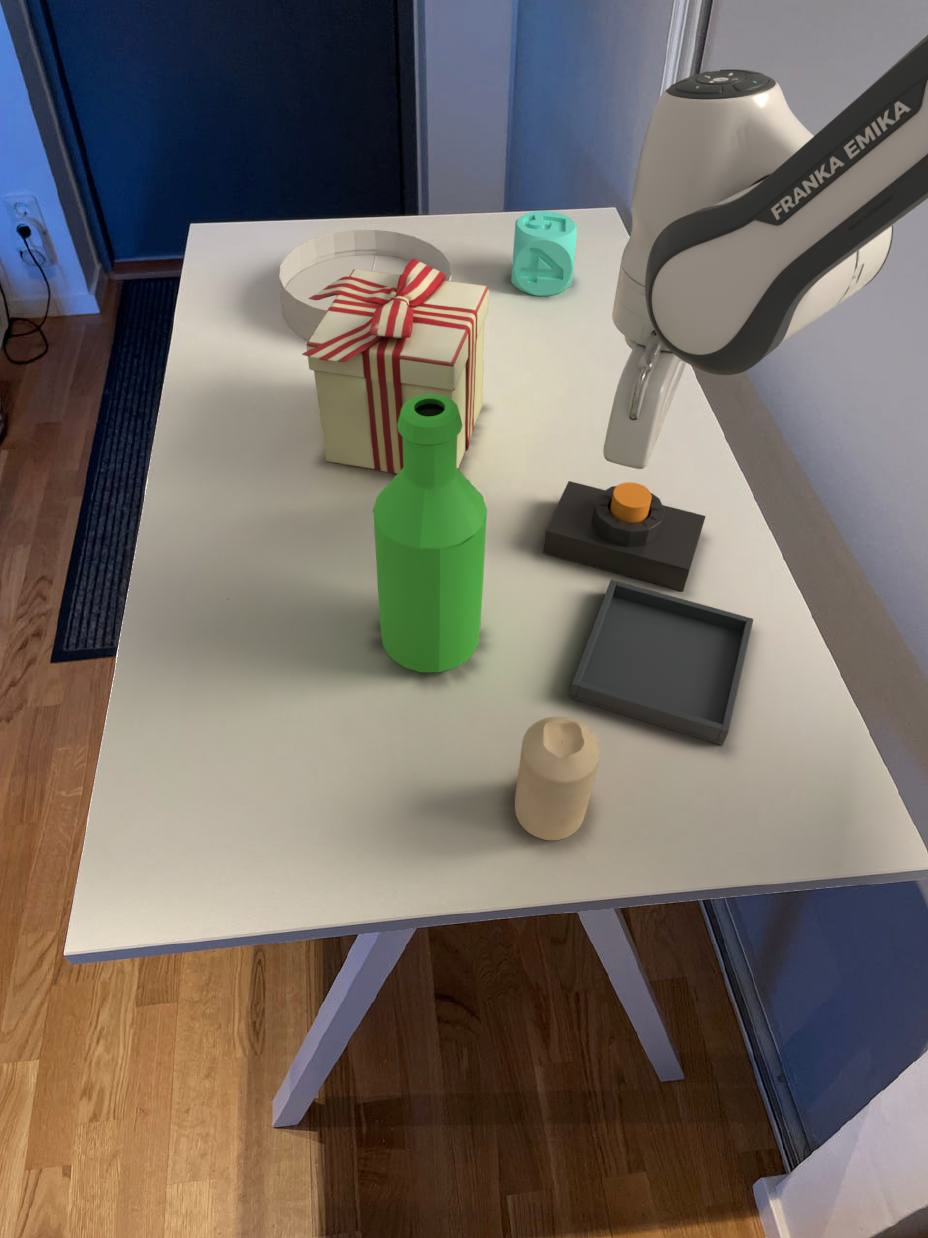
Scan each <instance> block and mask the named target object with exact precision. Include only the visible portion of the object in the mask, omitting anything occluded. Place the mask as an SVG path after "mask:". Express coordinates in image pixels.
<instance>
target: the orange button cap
mask: <svg viewBox="0 0 928 1238" xmlns="http://www.w3.org/2000/svg"><path fill="white" fill-rule="evenodd" d="M616 486H617V487H616V488H615V489H614V491H613V496H612V502H611V507H610V511H611V513H612V515H613V516H614V517H615V518H617V519H618V520H621V521H624V522H628V523H634V522H641V521H643V520H645V519H646V517H647V516H648V512H649V507H650V503H651V499H652V495H651V493H652V492H651V491H650V490H649V489H648V487H646V486H645V485H642V484H640V483H638V482H632V481H631V482H630V481H629V482H627V481H626V482H622V483H620V484H618V485H616ZM650 492H651V493H650Z"/></svg>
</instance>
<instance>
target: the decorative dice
mask: <svg viewBox="0 0 928 1238" xmlns="http://www.w3.org/2000/svg"><path fill="white" fill-rule="evenodd" d="M514 223H515V224H514V225H515V226H514V238H513V239H514V240H513V249H512V250H513V251H512V263H511V265H512V266H511V281H510V282H511V283H512V284H513V286H515V288H517V289H518V290H519V291H520V292H523V293H525V294H526V295H527V294H528V295H531V296H538V297H551V296H555V295H559V294H561V293H563V292H565V291H566V290H568V289H569V287H571V286H572V282H573V278H574V277H573V276H574V270H575V263H576V262H575V261H576V252H577V251H576V250H577V237H578V233H577V232H578V227H577V226H578V225H577V223H576V222H575V221H574V220H573V218H571V217H570V216H568V215H565V214H563V213H560V212H556V211H552V210H551V211H550V210H535V211H530V212H527V213H524V214H522V215H521V216H520V217H518V218H517V219H516V220H515V222H514Z"/></svg>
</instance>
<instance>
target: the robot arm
mask: <svg viewBox="0 0 928 1238" xmlns="http://www.w3.org/2000/svg"><path fill="white" fill-rule="evenodd" d="M633 184H634V185H633V189H632V195H631V202H630V210H631V217H632V224H631V225H632V226H631V231H630V232H631V233H630V236H629V238H628V241H627V242H626V245H625V246H624V249H623V251H622V256H621V258H620V259H621V261H620V265H619V272H618V277H617V282H616V289H615V295H614V296H615V297H614V301H613V306H612V314H611V316H612V317H611V318H612V322H613V324H614V326H615V327H616V330H618V331H619V332H620V333H621V335H623V336H624V342H625V343H626V345H627V346H628V347H629V348H630V349H631V352H630V353H629V357H628V359H627V361H626V363H625V365H624V367H623V369H622V372H621V375H620V377H619V380H618V383H617V386H616V389H615V393H614V397H613V402H612V407H611V410H610V415H609V420H608V424H607V429H606V432H605V433H606V434H605V437H604V438H605V439H604V443H603V450H602V451H603V458H604V459H605V461H607V462H609V463H612V464H615V465H619V466H623V467H627V468H632V469H636V470H643V469H645V468H646V467H647V465H648V464H649V462H650V459H651V457H652V455H653V452H654V449H655V446H656V444H657V441H658V438H659V436H660V434H661V432H662V431H661V430H662V428H663V425H664V423H665V420H666V417H667V414H668V412H669V409H670V407H671V404H672V401H673V400H674V396H675V394H676V391H677V388H678V385H679V384H680V380H681V378H682V375H683V372H684V370H685V368H686V365H687V364H688V365H690V366H691V367H693V368H695V369H698V370H700V371H703V372H705V373H708V374H711V375H717V376H734V375H738V374H741V373H744V372H746V371H748V370H750V369H752V368H753V367H754V366H756V365H757V364H759V363H760V362H761V361H762V360H763V359H764V358H766V357H767V356H769V355H770V354H771V353H772V352H773V351H775V350H776V349H777V348H778V347H779V346H780V345H781V344H782V343H784V342H785V341H787V340H788V339H790V338H791V337H792V336H794V335H796V334H797V333H799V332H800V331H802V330H803V329H805V328H806V327H807V326H809V325H811V324H812V323H813V322H815V321H817V320H818V319H819V318H822V316H825V314H827V313H828V312H830V311H831V310H833V309H835V307H837V306H839V305H840V304H842V303H843V302H845V301H846V300H849V298H851V297H852V296H853V295H855V294H856V293H857V292H859V291H860V290H861V289H864V287H865V286H867V285H868V284H870V283H871V282H872V281H873V280H874V279H875V278H876V276H877V275H878V274H879V273H880V271H881V270H882V269H883V267H884V265H885V263H886V261H887V259H888V256H889V254H890V250H891V247H892V243H893V237H894V225H896V224H897V223H898V222H900V221H901V220H902V219H904V218H905V217H906V216H908V215H909V214H910V213H912V212H913V211H914V210H916V209H917V208H918V207H920V206H922V204H924V203H925V202H927V201H928V31H927V32H926V33H924V35H923V36H922V37H921V38H920V39H919V40H918V41H917V43H916V44H914V45H913V46H912V47H911V49H910V50H909V51H907V53H905V54H904V55H903V56H902V57H901V58H900V59H898V61H897V62H895V63H894V64H893V65H892V66H891V67H890V68H888V70H887V71H885V72H884V73H883V74H882V75H881V76H880V77H879V78H878V79H877V80H876V81H874V83H872V84H871V85H870V86H869V87H868V88H866V89H865V91H863V92H862V93H861V94H860V95H859V96H858V97H856V98H855V99H854V100H853V101H852V102H851V103H850V104H849V105H847V106H846V108H844V109H843V110H842V111H840V113H839V114H837V115H836V116H835V117H834V118H833V119H832V120H831V121H829V123H827V124H826V125H825V126H824V127H823V128H821V129H820V130H819V131H818V132H817V133H816V134H815V135H813V134H812V133H811V131H809V130H808V128H806V127H805V126H804V124H802V123H801V121H800V120H798V118H797V116H796V115H795V114H794V113H793V111H792V110H791V109H790V106H789V105H788V102H787V101H786V97H785V95H784V93H783V90H782V88H781V86H780V84H779V83H778V82H777V81H776V79H774V78H772V77H770V76H768V75H765V74H764V73H763V72H759V71H754V70H749V69H733V68H732V69H731V68H730V69H728V68H727V69H719V70H714V71H713V70H711V71H709V70H707V71H703V72H699V73H696V74H694V75H690V76H688V77H686V78H684V79H680V80H679V81H677V82H675V83H673V84H671V85H670V86H669V87H668V88H667V89H665V90H664V91H662V93H661V94H660V96H659V98H658V100H657V101H656V104H655V106H654V108H653V110H652V113H651V115H650V118H649V121H648V124H647V127H646V131H645V134H644V138H643V142H642V145H641V149H640V154H639V159H638V164H637V168H636V173H635V178H634V182H633Z"/></svg>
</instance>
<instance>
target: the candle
mask: <svg viewBox="0 0 928 1238" xmlns="http://www.w3.org/2000/svg"><path fill="white" fill-rule="evenodd" d="M600 756H601V749H600V743H599V740H598V738H597V736H596V735H595V734H594V732H593V731H592V730H591V729H590V728H589V727H588V726H587V725H585V724H584V723H582V722H580V721H578V720H576V719H574V718H572V717H568V716H567V717H566V716H549V717H545V718H542V719H539V720H538V721H536V722H534V723H533V724H532V725H531V726H530V727H528V729H527V730H526V731H525V733H524V736H523V738H522V742H521V751H520V759H519V766H518V772H517V781H516V787H515V795H514V812H515V816H516V819H517V821H518V823H519V824H520V825H521V827H522V828H523V829H524V830H525V831H526V832H527V833H529V834H530V835H531V836H533V837H535V838H537V839H540V840H544V841H561V840H564V839H567V838H569V837H570V836H572V835H574V834H575V833H576V832H577V831H578V830H579V829H580V827H581V826H582V824H583V822H584V819H585V816H586V813H587V810H588V806H589V801H590V797H591V794H592V789H593V786H594V781H595V777H596V773H597V770H598V764H599V761H600Z"/></svg>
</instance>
